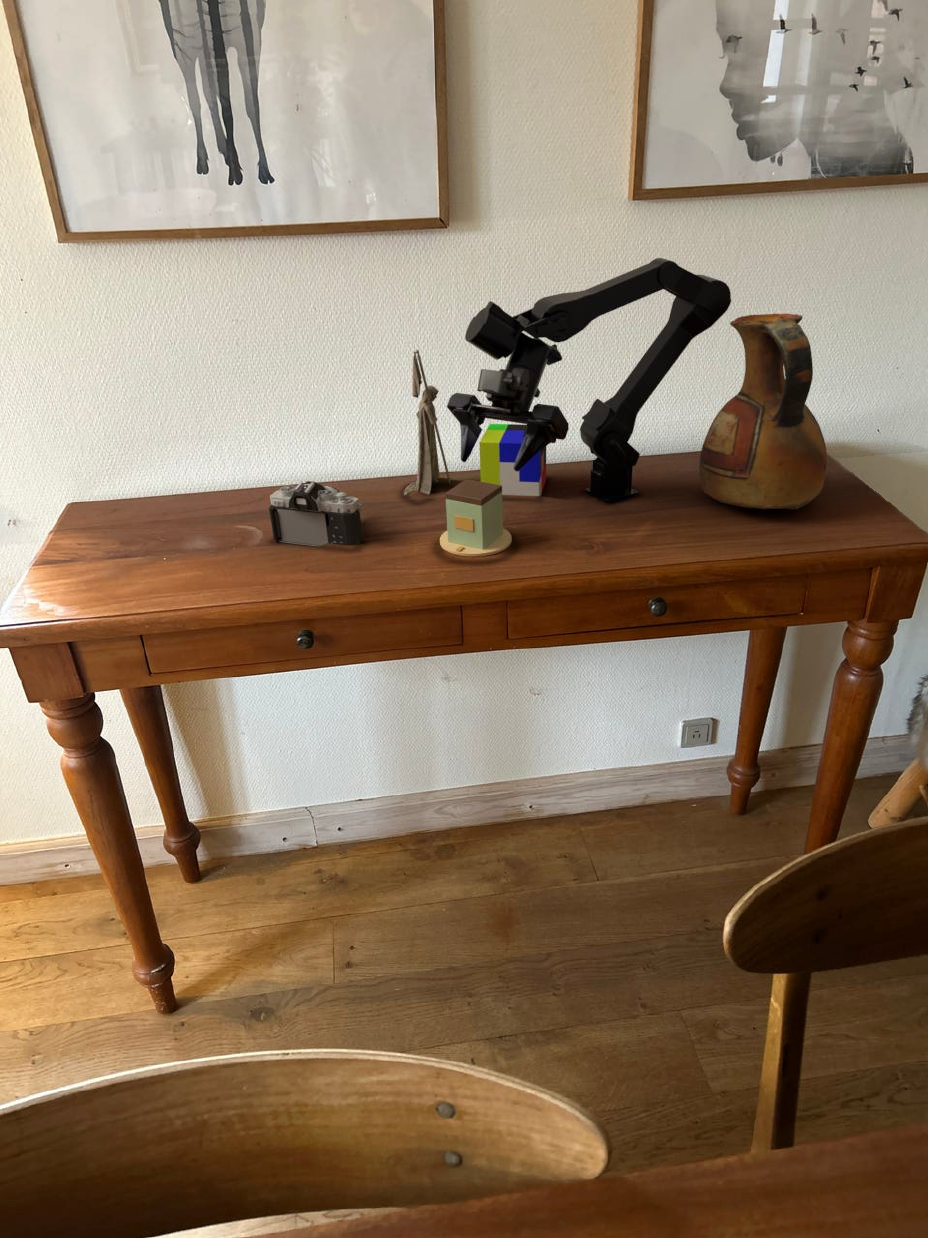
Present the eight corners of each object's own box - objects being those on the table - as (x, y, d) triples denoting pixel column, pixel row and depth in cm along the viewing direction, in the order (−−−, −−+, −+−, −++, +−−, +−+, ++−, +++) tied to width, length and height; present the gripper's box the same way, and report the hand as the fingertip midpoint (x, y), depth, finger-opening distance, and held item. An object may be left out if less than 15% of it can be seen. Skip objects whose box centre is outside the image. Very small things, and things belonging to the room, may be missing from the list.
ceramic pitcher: (771, 472, 159) (796, 296, 144) (847, 514, 143) (884, 320, 128) (674, 489, 154) (689, 309, 139) (740, 534, 138) (766, 335, 123)
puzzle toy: (538, 500, 152) (539, 444, 147) (481, 498, 154) (479, 442, 149) (546, 479, 161) (546, 425, 156) (491, 477, 163) (489, 423, 158)
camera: (379, 531, 144) (374, 472, 139) (355, 555, 137) (349, 493, 132) (294, 521, 149) (285, 464, 144) (266, 544, 141) (257, 484, 136)
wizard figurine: (454, 500, 154) (447, 353, 141) (405, 504, 153) (393, 356, 141) (449, 479, 163) (442, 338, 150) (402, 482, 162) (391, 342, 150)
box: (463, 521, 144) (461, 471, 140) (524, 534, 139) (523, 482, 135) (426, 547, 136) (422, 495, 132) (489, 562, 131) (487, 508, 127)
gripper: (450, 339, 136) (414, 431, 133) (561, 351, 127) (525, 449, 124) (478, 378, 145) (445, 465, 143) (583, 391, 137) (550, 484, 134)
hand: (488, 465), depth 136 cm, fingers open, 9 cm apart
